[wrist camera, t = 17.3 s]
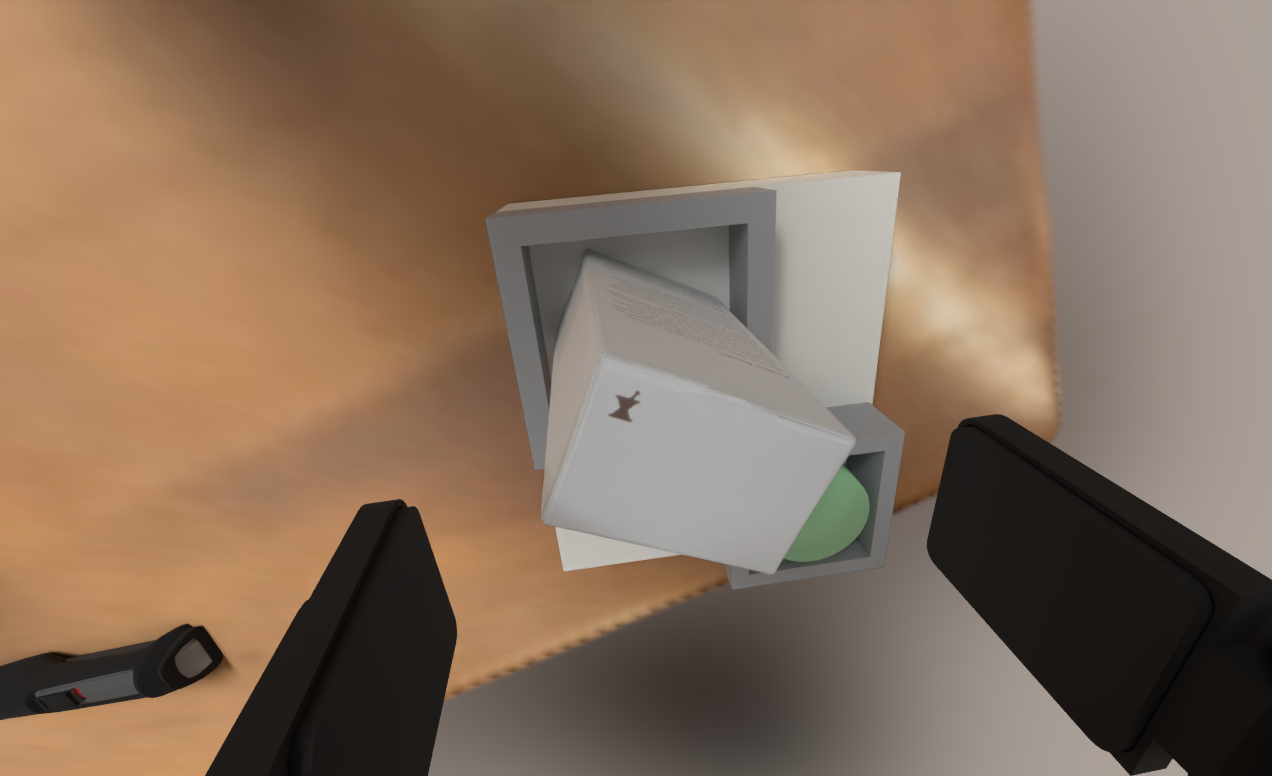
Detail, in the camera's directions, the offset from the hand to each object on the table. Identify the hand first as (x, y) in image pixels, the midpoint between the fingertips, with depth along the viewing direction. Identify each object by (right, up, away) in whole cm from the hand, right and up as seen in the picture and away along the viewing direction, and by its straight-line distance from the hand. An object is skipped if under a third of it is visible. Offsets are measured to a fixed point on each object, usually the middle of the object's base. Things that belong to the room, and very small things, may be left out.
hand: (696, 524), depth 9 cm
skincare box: (-1, +5, +13) cm, 14 cm away
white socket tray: (+2, +3, +18) cm, 19 cm away
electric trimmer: (-34, -14, +22) cm, 44 cm away
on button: (+7, -2, +16) cm, 18 cm away
